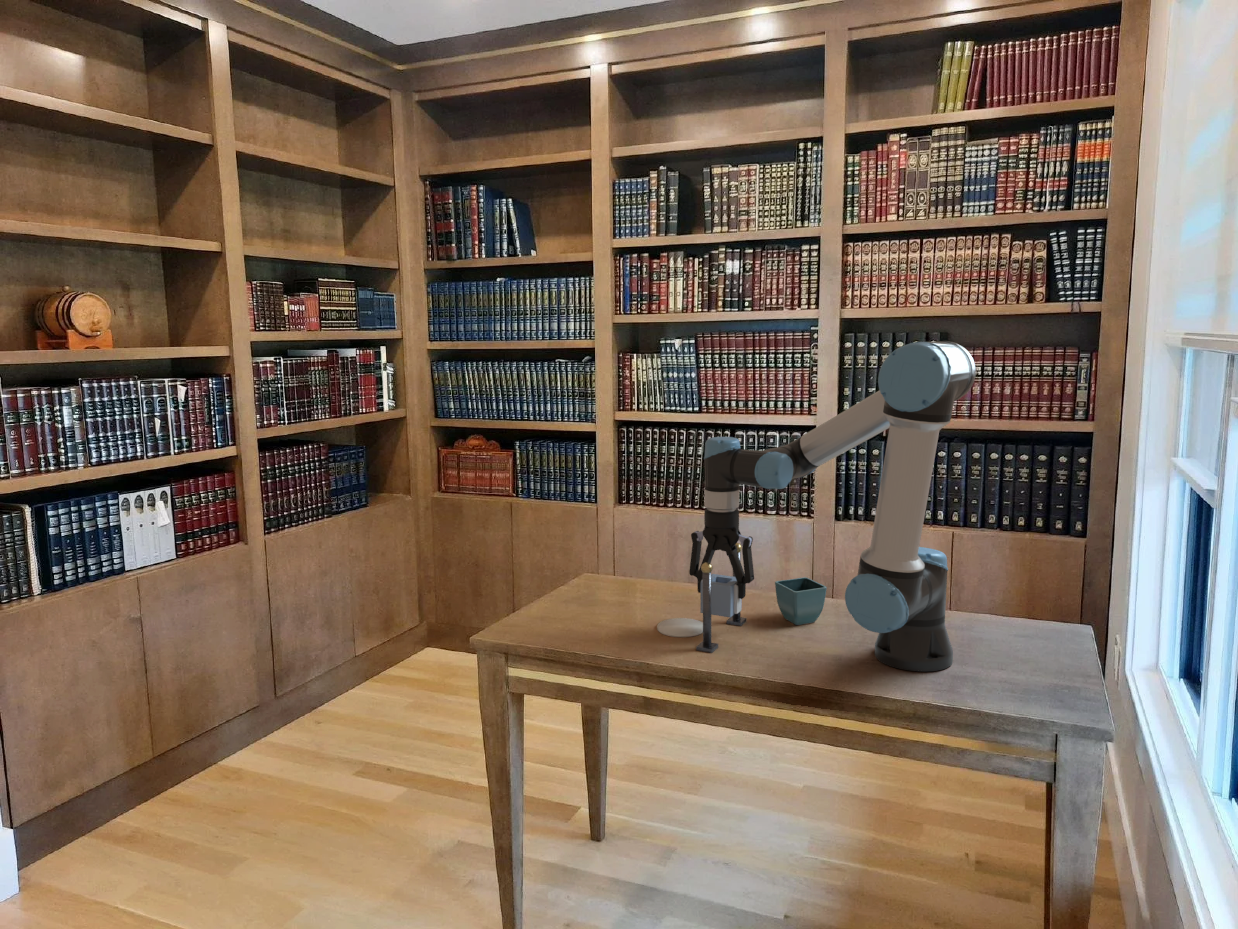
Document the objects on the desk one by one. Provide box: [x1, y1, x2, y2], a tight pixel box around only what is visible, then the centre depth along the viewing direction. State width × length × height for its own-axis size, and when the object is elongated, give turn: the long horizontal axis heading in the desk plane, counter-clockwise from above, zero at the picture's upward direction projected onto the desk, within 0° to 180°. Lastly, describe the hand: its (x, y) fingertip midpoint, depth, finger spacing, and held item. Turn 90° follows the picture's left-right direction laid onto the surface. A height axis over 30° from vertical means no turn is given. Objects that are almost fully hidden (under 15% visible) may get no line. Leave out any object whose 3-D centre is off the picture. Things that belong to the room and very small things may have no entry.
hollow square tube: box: [699, 573, 743, 618], centre depth 188 cm, size 7×7×7 cm
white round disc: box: [656, 617, 703, 638], centre depth 194 cm, size 11×11×1 cm
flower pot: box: [774, 576, 828, 626], centre depth 196 cm, size 9×9×9 cm
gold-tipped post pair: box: [695, 542, 748, 654], centre depth 188 cm, size 4×22×19 cm, turn 152°
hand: (721, 609), depth 188 cm, fingers closed on hollow square tube, 7 cm apart
